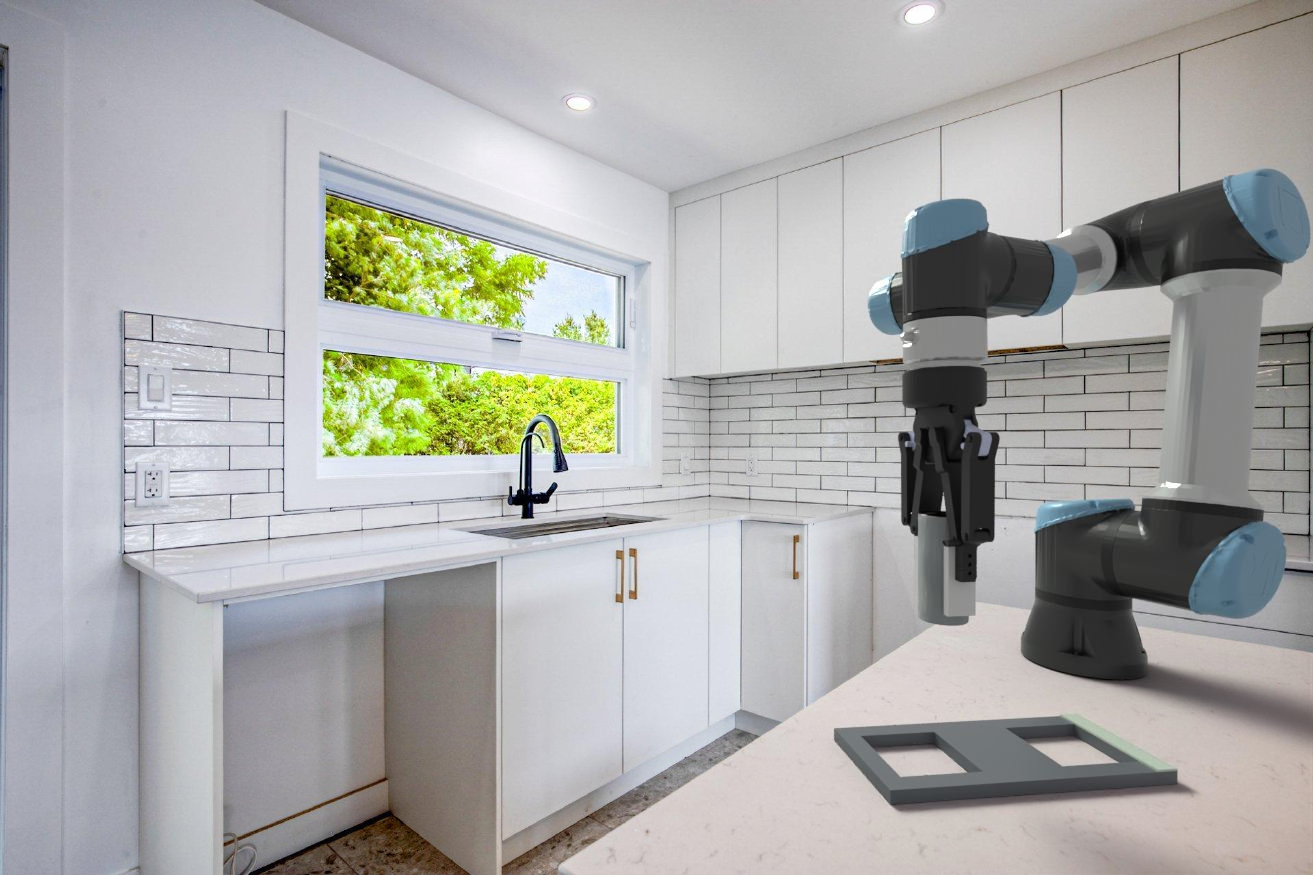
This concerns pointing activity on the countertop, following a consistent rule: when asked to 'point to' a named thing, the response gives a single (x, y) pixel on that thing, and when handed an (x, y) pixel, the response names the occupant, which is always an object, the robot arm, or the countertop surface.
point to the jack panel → (1000, 759)
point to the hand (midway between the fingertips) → (943, 606)
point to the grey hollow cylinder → (933, 569)
